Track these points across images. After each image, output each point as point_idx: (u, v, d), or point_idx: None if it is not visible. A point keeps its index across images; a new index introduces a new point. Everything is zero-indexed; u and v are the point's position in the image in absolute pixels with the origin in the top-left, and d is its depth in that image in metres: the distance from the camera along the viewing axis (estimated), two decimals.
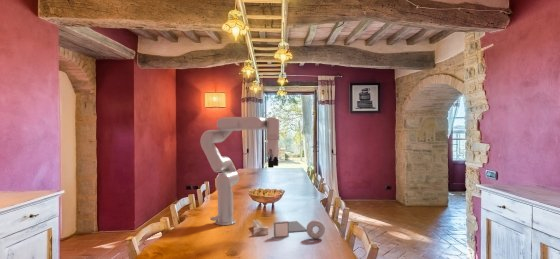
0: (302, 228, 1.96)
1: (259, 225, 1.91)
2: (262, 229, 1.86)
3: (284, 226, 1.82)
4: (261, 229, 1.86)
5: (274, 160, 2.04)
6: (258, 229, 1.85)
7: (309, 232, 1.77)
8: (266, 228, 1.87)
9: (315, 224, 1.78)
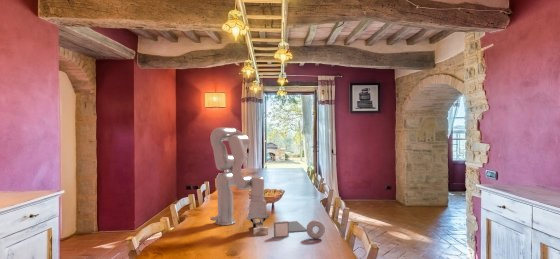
0: (302, 228, 1.96)
1: (259, 225, 1.91)
2: (262, 229, 1.86)
3: (284, 226, 1.82)
4: (261, 229, 1.86)
5: (255, 224, 1.95)
6: (258, 229, 1.86)
7: (309, 232, 1.77)
8: (266, 228, 1.87)
9: (315, 224, 1.78)
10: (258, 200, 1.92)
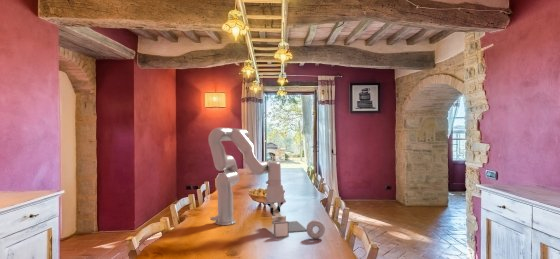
0: (302, 228, 1.96)
1: (277, 213, 1.94)
2: (280, 218, 1.89)
3: (284, 226, 1.82)
4: (279, 218, 1.89)
5: (272, 208, 1.97)
6: (276, 218, 1.89)
7: (309, 232, 1.77)
8: (284, 217, 1.90)
9: (315, 224, 1.78)
10: (275, 184, 1.95)
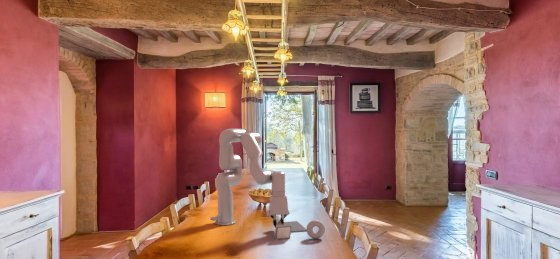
0: (302, 228, 1.96)
1: None
2: None
3: (286, 229, 1.77)
4: None
5: None
6: None
7: (309, 232, 1.77)
8: None
9: (315, 224, 1.78)
10: (279, 195, 1.85)
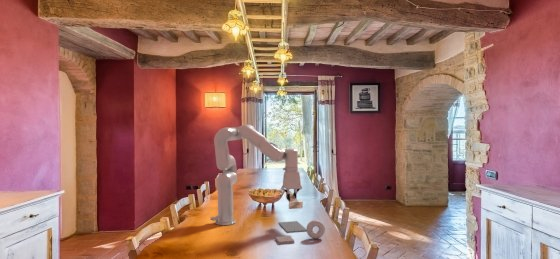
0: (302, 228, 1.96)
1: (293, 198, 1.98)
2: (297, 203, 1.94)
3: None
4: (296, 203, 1.93)
5: None
6: (293, 203, 1.93)
7: (309, 232, 1.77)
8: (301, 202, 1.94)
9: (315, 224, 1.78)
10: (292, 171, 1.99)
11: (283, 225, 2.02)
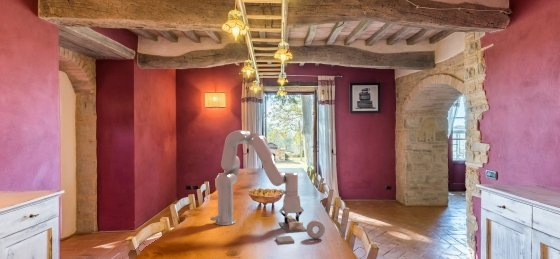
0: None
1: (294, 220, 1.98)
2: (297, 224, 1.94)
3: None
4: (296, 224, 1.94)
5: None
6: (293, 224, 1.93)
7: (309, 232, 1.77)
8: (301, 223, 1.94)
9: (315, 224, 1.78)
10: (292, 195, 1.99)
11: (283, 225, 2.02)
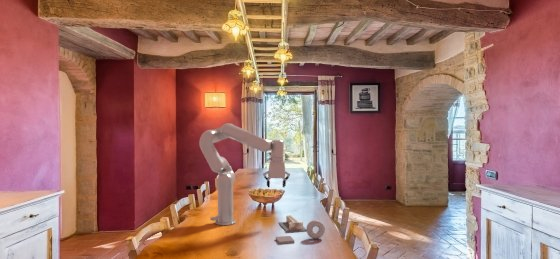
0: None
1: (294, 220, 1.98)
2: (297, 224, 1.94)
3: None
4: (296, 224, 1.94)
5: None
6: (293, 224, 1.93)
7: (309, 232, 1.77)
8: (301, 223, 1.94)
9: (315, 224, 1.78)
10: (277, 161, 2.06)
11: (283, 225, 2.02)
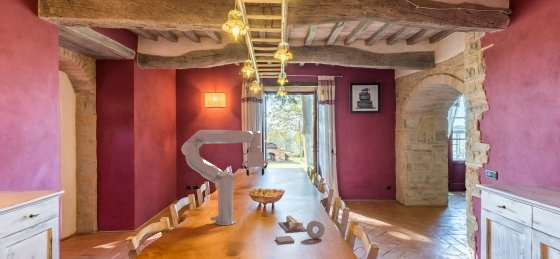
0: None
1: (294, 220, 1.98)
2: (297, 224, 1.94)
3: None
4: (296, 224, 1.94)
5: (248, 170, 2.19)
6: (293, 224, 1.93)
7: (309, 232, 1.77)
8: (301, 223, 1.94)
9: (315, 224, 1.78)
10: (255, 150, 2.17)
11: (283, 225, 2.02)
